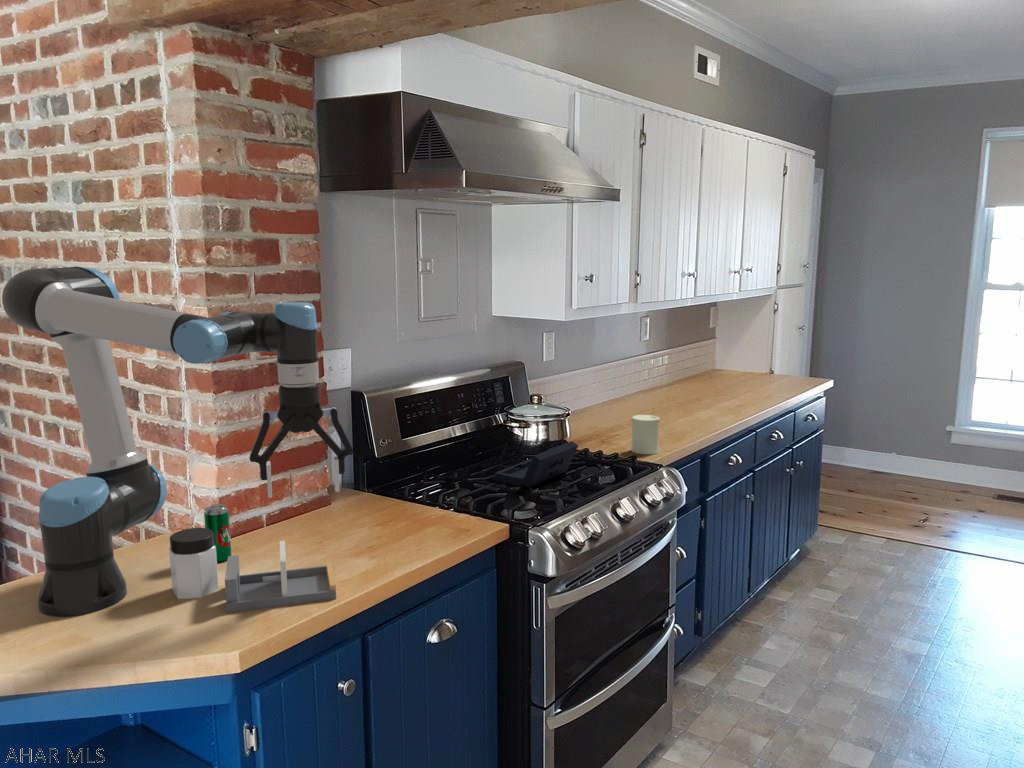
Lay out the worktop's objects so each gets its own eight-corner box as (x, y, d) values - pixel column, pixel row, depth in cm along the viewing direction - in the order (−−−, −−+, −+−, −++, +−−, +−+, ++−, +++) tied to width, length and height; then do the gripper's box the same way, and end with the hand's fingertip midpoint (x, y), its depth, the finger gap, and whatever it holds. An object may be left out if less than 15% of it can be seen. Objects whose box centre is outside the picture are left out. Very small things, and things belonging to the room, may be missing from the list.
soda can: (206, 557, 175) (203, 505, 173) (230, 553, 177) (227, 502, 175) (207, 565, 171) (204, 512, 169) (232, 561, 173) (229, 509, 170)
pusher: (263, 604, 150) (260, 564, 148) (263, 580, 161) (261, 542, 159) (287, 601, 151) (285, 561, 150) (286, 577, 162) (284, 540, 160)
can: (661, 454, 261) (662, 419, 259) (633, 454, 261) (634, 419, 259) (656, 447, 270) (657, 413, 268) (629, 447, 270) (630, 413, 268)
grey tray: (226, 615, 147) (224, 581, 146) (230, 587, 160) (228, 555, 158) (336, 602, 153) (335, 568, 152) (331, 575, 165) (330, 544, 164)
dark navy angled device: (533, 465, 249) (533, 434, 247) (577, 474, 240) (578, 442, 238) (494, 481, 232) (494, 448, 231) (540, 491, 223) (540, 456, 221)
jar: (224, 581, 162) (220, 526, 160) (213, 599, 154) (209, 541, 152) (179, 583, 161) (174, 528, 159) (166, 601, 153) (161, 543, 151)
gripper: (230, 390, 144) (237, 504, 147) (365, 383, 151) (368, 492, 154) (232, 383, 151) (239, 492, 155) (361, 377, 158) (364, 481, 162)
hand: (304, 492), depth 155 cm, fingers open, 12 cm apart
